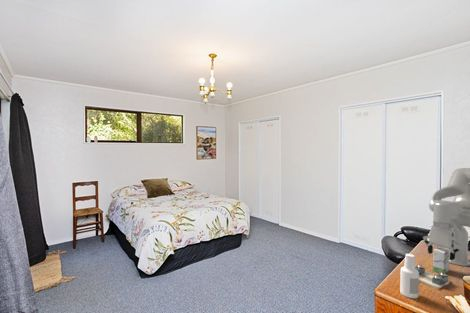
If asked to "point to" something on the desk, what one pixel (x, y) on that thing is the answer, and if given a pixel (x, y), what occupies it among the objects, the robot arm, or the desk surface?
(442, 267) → the ink box
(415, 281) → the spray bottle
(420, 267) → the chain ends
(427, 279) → the jig board
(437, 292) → the desk surface
